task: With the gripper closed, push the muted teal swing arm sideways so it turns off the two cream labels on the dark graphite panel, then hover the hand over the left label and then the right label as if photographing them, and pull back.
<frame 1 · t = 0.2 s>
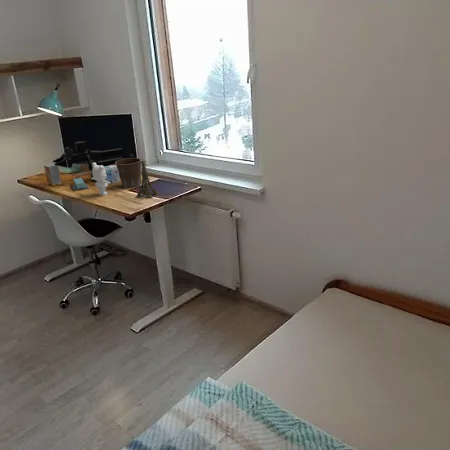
hand: (53, 162, 297), 16 cm above the table, tool horizontal, fingers open, 9 cm apart
label panel: (80, 187, 299), on the table
swing arm: (78, 182, 300), point 3 cm above the table, hinge at 0.0°
light bulb box: (111, 182, 306), on the table
pivot post: (78, 184, 307), on the table
eiffel tower: (147, 195, 274), on the table
small box: (54, 184, 312), on the table
plant pot: (131, 185, 296), on the table
white bear figurine: (103, 194, 282), on the table
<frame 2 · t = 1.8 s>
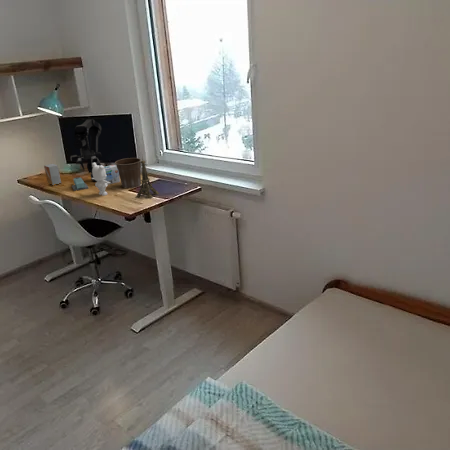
hand: (88, 169, 297), 11 cm above the table, tool pointing down, fingers open, 5 cm apart
nothing on the table moved.
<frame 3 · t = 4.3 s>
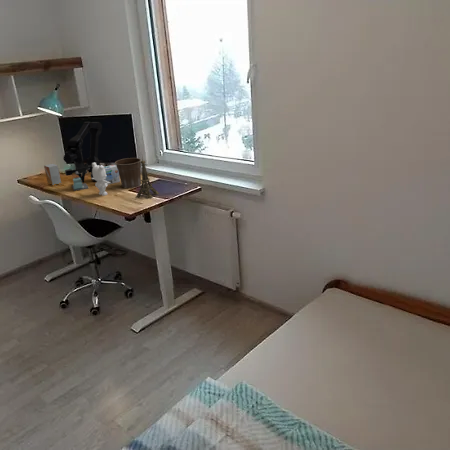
hand: (83, 182, 297), 3 cm above the table, tool pointing down, fingers closed
swing arm: (77, 182, 299), point 3 cm above the table, hinge at -6.1°, touching gripper
everything else where it was.
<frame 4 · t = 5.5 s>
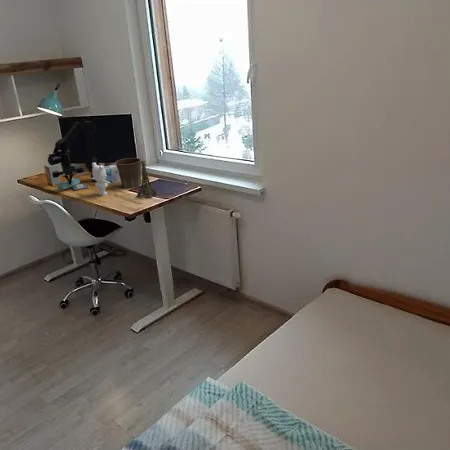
hand: (70, 185, 295), 3 cm above the table, tool pointing down, fingers closed
swing arm: (70, 183, 300), point 3 cm above the table, hinge at -49.6°, touching gripper
everything else where it was.
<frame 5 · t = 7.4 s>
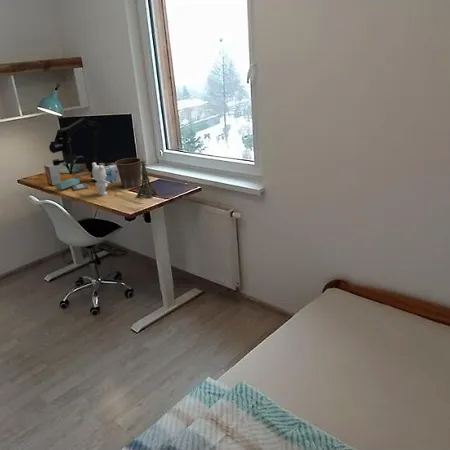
hand: (70, 173, 293), 10 cm above the table, tool pointing down, fingers closed
swing arm: (69, 182, 300), point 3 cm above the table, hinge at -55.6°
everything else where it was.
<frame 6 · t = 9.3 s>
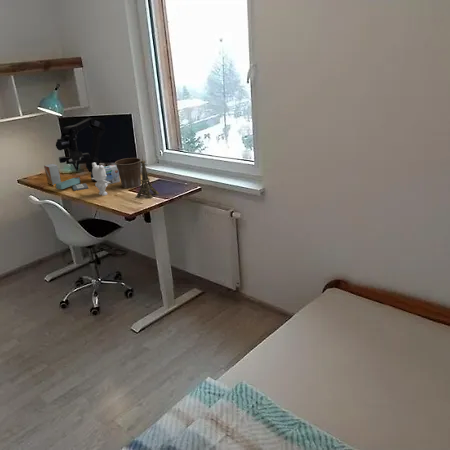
hand: (77, 170, 296), 11 cm above the table, tool pointing down, fingers closed
nothing on the table moved.
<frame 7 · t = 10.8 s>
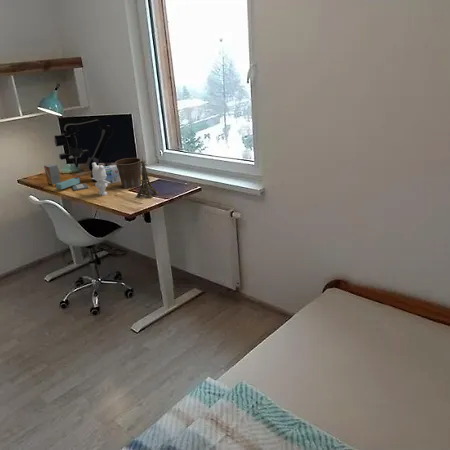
hand: (77, 167, 303), 11 cm above the table, tool pointing down, fingers closed
nothing on the table moved.
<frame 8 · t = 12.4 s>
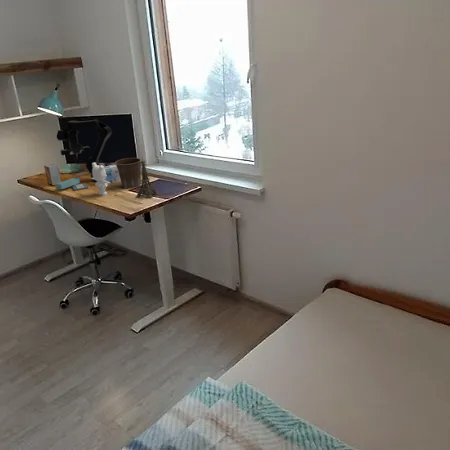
hand: (77, 163, 312), 12 cm above the table, tool pointing down, fingers closed
nothing on the table moved.
at the end: swing arm at -56° (first picture: +0°); small box moved 0.2 cm from its start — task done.
